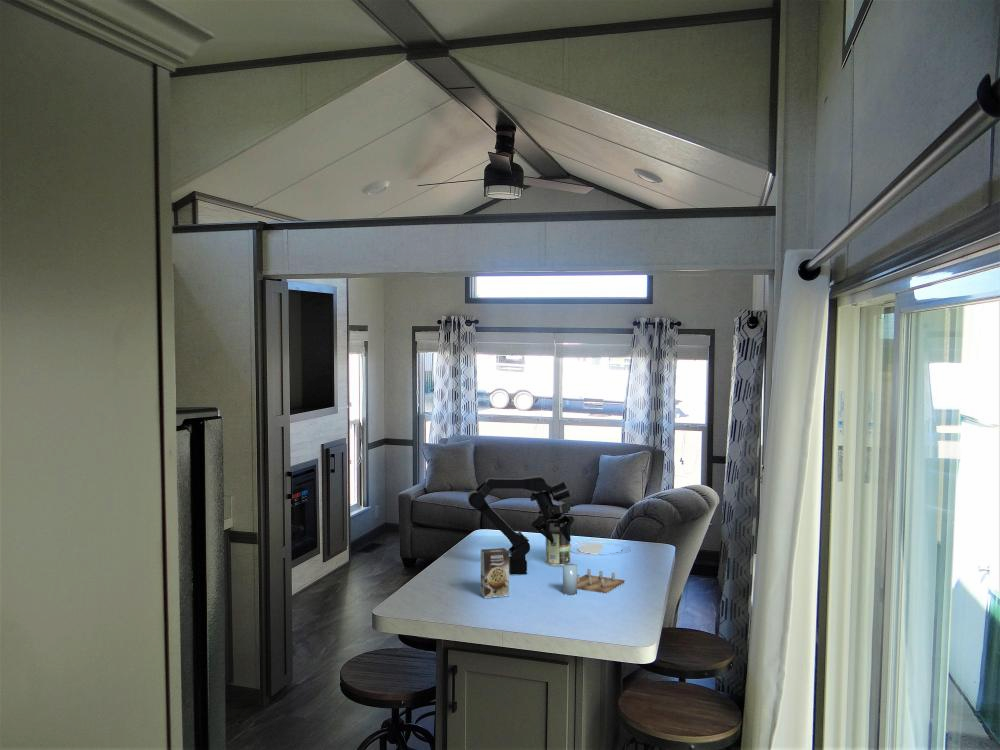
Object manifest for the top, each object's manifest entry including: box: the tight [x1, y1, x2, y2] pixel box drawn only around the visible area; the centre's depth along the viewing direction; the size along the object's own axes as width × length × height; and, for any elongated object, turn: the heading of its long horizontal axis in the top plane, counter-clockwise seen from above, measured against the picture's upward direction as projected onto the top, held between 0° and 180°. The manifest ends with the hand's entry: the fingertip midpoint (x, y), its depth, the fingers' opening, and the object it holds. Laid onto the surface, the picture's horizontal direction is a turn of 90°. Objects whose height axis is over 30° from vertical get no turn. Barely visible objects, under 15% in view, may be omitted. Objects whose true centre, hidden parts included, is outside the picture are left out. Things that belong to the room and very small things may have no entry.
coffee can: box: [545, 526, 571, 567], centre depth 328 cm, size 10×10×14 cm
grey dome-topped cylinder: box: [562, 563, 578, 596], centre depth 284 cm, size 5×5×10 cm
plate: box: [570, 540, 616, 557], centre depth 352 cm, size 28×28×1 cm
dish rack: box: [577, 568, 626, 594], centre depth 295 cm, size 16×16×4 cm
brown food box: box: [480, 547, 510, 598], centre depth 282 cm, size 9×6×16 cm
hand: (561, 541), depth 305 cm, fingers open, 9 cm apart
